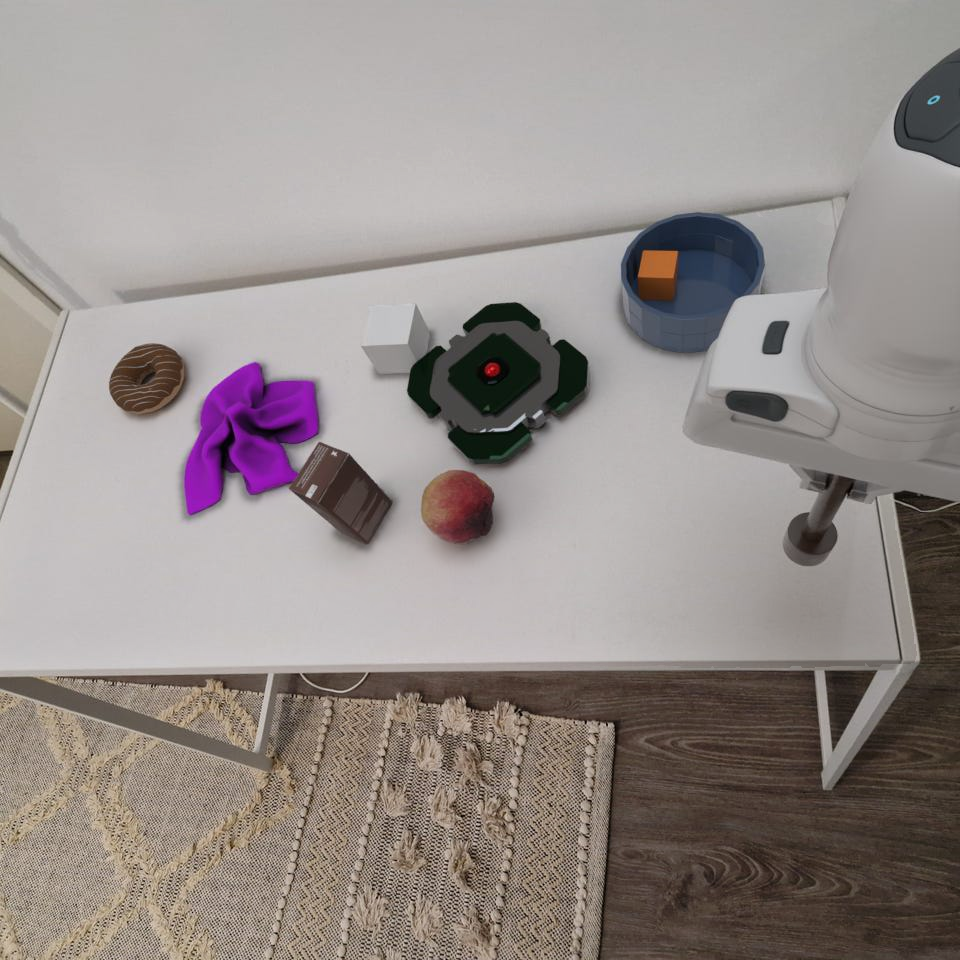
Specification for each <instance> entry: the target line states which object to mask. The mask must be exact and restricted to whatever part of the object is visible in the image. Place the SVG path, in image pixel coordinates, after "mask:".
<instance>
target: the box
mask: <svg viewBox="0 0 960 960" xmlns="http://www.w3.org/2000/svg"><path fill="white" fill-rule="evenodd" d="M288 489H289V490H290V491H291V493H292V494H294V495H295V496H297V497H298V498H299V499H300V500H301V501H302V502H303V503H305V504H306V505H307V506H308V507H310V508H311V509H312V510H313V511H315V512H316V513H317V514H318V516H319V517H320V516H321V518H323V519H324V520H325V521H326V522H327V523H329V524H330V525H331V526H332V527H333V528H335V529H336V530H337V531H338V532H339V533H341V534H343V535H345V536H346V537H347V536H348V537H350V538H352V539H354V540H356V541H358V542H360V543H361V544H364V545H368V544H369V542H370V540H371V538H372V537H373V535H374V533H375V532H376V530H377V528H379V525H380V523H381V522H382V520H383V518H384V517H385V515H386V513H387V511H388V510H389V509H390V506H391V505H392V504H393V500H392V499H391V498H390V497H389V496H388V495H387V494H386V493H385V492H384V490H382V488H381V487H380V486H379V485H378V484H377V483H376V482H375V480H374V479H373V478H372V477H371V476H370V475H369V474H368V473H367V472H366V471H365V469H364V468H363V467H362V466H361V465H360V464H359V462H357V460H356V459H354V457H353V456H352V455H351V454H350V452H347V451H344V450H342V449H339V448H336V447H334V446H331V445H329V444H326V443H324V442H322V441H318V442H317V444H316V445H315V447H314V448H313V450H312V452H310V455H309V456H308V458H307V459H306V461H305V462H304V464H303V466H302V467H301V469H300V470H299V472H298V475H297V477H296V478H295V480H294V481H292V482H291V484H290V486H289V487H288Z"/></svg>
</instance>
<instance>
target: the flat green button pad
mask: <svg viewBox="0 0 960 960" xmlns="http://www.w3.org/2000/svg"><path fill="white" fill-rule="evenodd" d="M462 330H463V333H464V335H460V334H457V333H456V334H455V335H454V336H452V337H451V338H450V339H449V340H448V345H449V346H450V347H449V348H448V349H445V348H444V347H443V345H436V346H434V347H433V348H432V349H430V351H427V354H426V355H425V356H423V357H422V358H421V359H420V360H418V361H417V362H416V363H415V364H413V366H412V368H411V370H410V373H409V376H408V382H407V388H406V394H407V396H408V397H409V399H410V401H411V402H412V403H413V404H414V405H415V406H416V407H417V408H418V409H419V410H420V411H421V412H422V413H423V414H424V416H426V417H427V418H428V419H429V420H430V419H431V420H432V419H435V418H436V417H437V416H439V418H440V420H441V422H442V424H443V425H444V427H445V428H446V429H447V430H448V431H449V432H448V433H447V439H448V441H449V443H450V444H451V445H452V446H453V448H455V449H456V450H457V451H458V452H459V453H460V454H461V455H462V456H463V457H464V458H465V459H466V460H467V462H469V463H470V464H473V465H476V466H477V465H504V464H507V463H509V462H510V461H511V460H512V459H514V457H516V456H517V455H518V454H519V453H520V452H522V451H523V450H524V449H525V448H526V447H528V445H530V444H531V443H532V442H533V441H534V437H533V433H532V430H531V429H530V428H529V427H531V428H535V429H539V428H540V427H541V426H543V425H544V424H545V423H546V422H547V420H546V415H545V414H546V413H547V412H549V411H550V412H552V413H553V414H554V415H555V416H556V417H561V416H563V415H564V414H565V413H567V411H569V410H570V409H571V408H572V407H574V406H575V405H576V404H577V403H579V401H581V400H582V399H583V398H584V397H585V396H586V395H587V393H588V392H589V381H590V364H589V360H588V358H587V356H586V355H585V354H583V353H582V352H581V351H580V350H579V349H577V348H576V347H575V346H574V345H572V344H571V342H568V341H567V340H566V339H564V338H562V339H558V340H557V341H556V342H555V343H554V344H552V342H551V338H550V334H549V333H548V332H547V331H546V330H545V329H542V322H541V319H540V317H538V316H537V315H536V314H535V313H533V311H531V310H530V309H528V308H527V307H526V306H525V305H523V304H522V303H520V302H517V301H512V302H497V303H490V304H487V305H485V306H483V307H482V308H481V309H480V310H479V311H477V312H476V313H475V314H474V315H473V316H471V317H470V318H468V320H466V321H465V322H464V323H463V324H462Z"/></svg>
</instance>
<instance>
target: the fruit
mask: <svg viewBox="0 0 960 960" xmlns="http://www.w3.org/2000/svg"><path fill="white" fill-rule="evenodd" d="M494 500H495V493H494V491H493V489H492V487H491V486H489V485H488V483H487V482H485V481H484V480H483V479H482V478H481V477H479V476H478V474H476V473H474V472H471V471H468V470H463V469H449V470H447V471H445V472H441V473H440V474H438V475H437V476H434V478H433V479H432V480H431V481H430V482H429V483H428V484H427V486H425V488H424V490H423V492H422V497H421V502H420V503H421V504H420V513H421V518H422V520H423V523H424V524H425V526H426V527H427V529H428V530H429V531H430V532H432V534H433V535H435V536H437V537H438V538H440V539H441V541H442V540H443V541H445V542H448V543H453V544H456V545H457V544H458V545H461V546H462V545H467V544H468V543H469V542H470V541H472V540H475V539H479V538H481V537H487V535H488V534H489V532H490V530H491V529H492V526H493V524H494V523H493V520H494V516H493V510H492V509H493V503H494Z"/></svg>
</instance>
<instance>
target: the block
mask: <svg viewBox="0 0 960 960" xmlns="http://www.w3.org/2000/svg"><path fill="white" fill-rule="evenodd" d="M677 276H678V251H651V250H643V253H642V258H641V263H640V268H639V273H638V290H639V299H640V300H661V301H673V300H674V294H675V288H676V282H677Z"/></svg>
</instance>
